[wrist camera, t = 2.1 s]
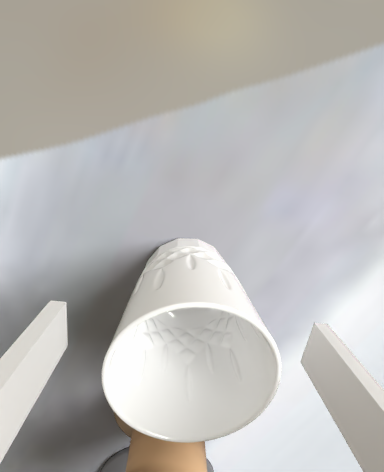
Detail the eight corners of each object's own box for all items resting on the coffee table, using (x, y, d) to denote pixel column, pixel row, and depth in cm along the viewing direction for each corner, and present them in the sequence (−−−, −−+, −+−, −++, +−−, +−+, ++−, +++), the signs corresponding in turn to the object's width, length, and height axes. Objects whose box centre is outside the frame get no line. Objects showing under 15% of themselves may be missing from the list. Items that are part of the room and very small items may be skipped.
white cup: (139, 316, 21) (107, 446, 12) (135, 228, 19) (93, 303, 9) (229, 316, 22) (269, 440, 12) (237, 230, 19) (295, 303, 10)
